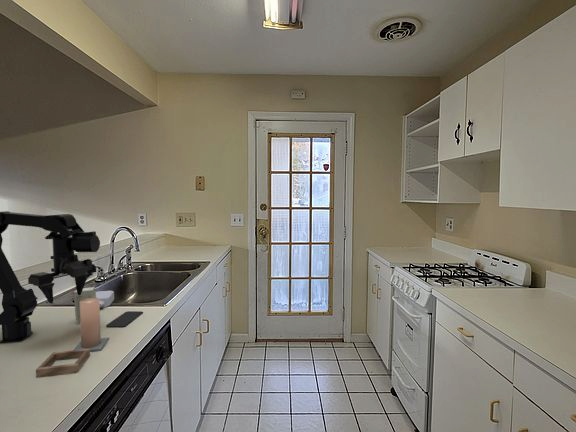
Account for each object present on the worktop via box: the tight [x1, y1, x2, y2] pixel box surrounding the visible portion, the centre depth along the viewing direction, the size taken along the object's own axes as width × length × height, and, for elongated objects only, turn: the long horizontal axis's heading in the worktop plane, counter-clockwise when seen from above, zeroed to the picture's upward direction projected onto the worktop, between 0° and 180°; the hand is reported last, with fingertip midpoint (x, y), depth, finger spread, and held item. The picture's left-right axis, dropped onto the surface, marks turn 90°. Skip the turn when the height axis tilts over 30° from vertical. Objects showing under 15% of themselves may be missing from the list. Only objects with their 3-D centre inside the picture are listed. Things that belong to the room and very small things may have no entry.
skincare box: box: [73, 286, 97, 325], centre depth 119 cm, size 6×4×12 cm
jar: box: [79, 298, 102, 348], centre depth 99 cm, size 5×5×14 cm
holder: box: [35, 349, 91, 378], centre depth 88 cm, size 10×10×2 cm
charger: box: [96, 290, 115, 309], centre depth 135 cm, size 5×9×15 cm
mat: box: [72, 337, 110, 353], centre depth 100 cm, size 8×8×1 cm
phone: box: [105, 310, 144, 329], centre depth 121 cm, size 7×1×15 cm
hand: (65, 298), depth 105 cm, fingers open, 9 cm apart
